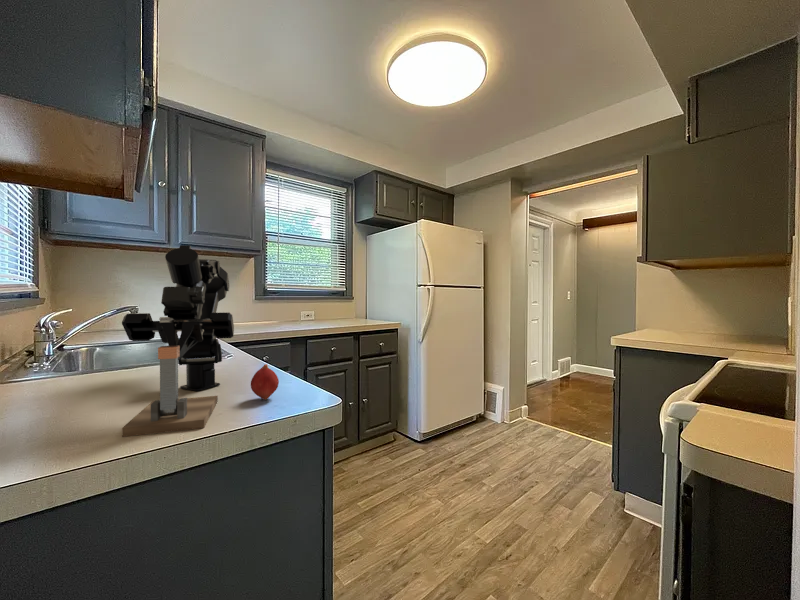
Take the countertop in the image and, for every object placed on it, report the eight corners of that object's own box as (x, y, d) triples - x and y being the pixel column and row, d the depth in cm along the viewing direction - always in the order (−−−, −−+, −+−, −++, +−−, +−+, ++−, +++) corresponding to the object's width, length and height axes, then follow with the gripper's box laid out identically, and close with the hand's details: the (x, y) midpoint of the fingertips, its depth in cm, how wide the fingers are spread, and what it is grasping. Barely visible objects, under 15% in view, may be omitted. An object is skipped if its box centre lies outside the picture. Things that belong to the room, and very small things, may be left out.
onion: (245, 402, 76) (245, 365, 76) (261, 394, 82) (261, 360, 82) (268, 404, 75) (268, 367, 75) (283, 396, 80) (283, 362, 80)
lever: (162, 414, 63) (161, 346, 63) (179, 412, 64) (179, 345, 64) (158, 418, 61) (158, 347, 61) (177, 416, 62) (176, 347, 62)
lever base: (152, 408, 72) (152, 386, 72) (217, 402, 76) (217, 381, 76) (122, 436, 58) (121, 409, 57) (203, 428, 62) (203, 402, 62)
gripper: (125, 271, 67) (98, 335, 57) (232, 274, 73) (224, 332, 63) (140, 310, 74) (119, 373, 64) (236, 309, 81) (230, 366, 70)
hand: (174, 360), depth 65 cm, fingers closed
